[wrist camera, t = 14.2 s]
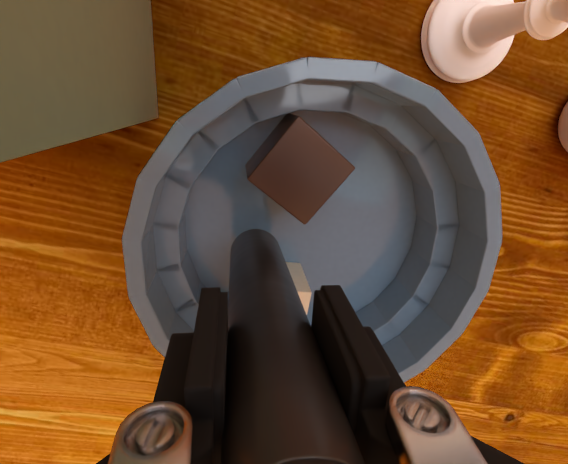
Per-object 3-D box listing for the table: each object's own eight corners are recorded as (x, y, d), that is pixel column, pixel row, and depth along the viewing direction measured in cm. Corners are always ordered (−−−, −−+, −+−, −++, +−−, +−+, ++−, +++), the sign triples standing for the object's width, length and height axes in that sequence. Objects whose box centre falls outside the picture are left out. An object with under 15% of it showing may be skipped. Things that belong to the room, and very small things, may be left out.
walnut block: (287, 112, 19) (298, 115, 16) (336, 156, 20) (356, 168, 17) (244, 165, 20) (246, 179, 16) (294, 205, 21) (305, 225, 17)
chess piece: (465, -46, 18) (712, -198, 9) (526, 21, 19) (793, -48, 10) (401, 44, 19) (560, -6, 10) (464, 101, 21) (653, 105, 11)
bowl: (137, 57, 18) (98, 42, 13) (469, 78, 20) (549, 72, 15) (162, 353, 24) (142, 423, 19) (415, 342, 26) (458, 402, 21)
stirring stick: (230, 228, 19) (217, 464, 5) (280, 228, 19) (388, 450, 6) (230, 275, 19) (218, 593, 6) (279, 275, 20) (371, 573, 6)
